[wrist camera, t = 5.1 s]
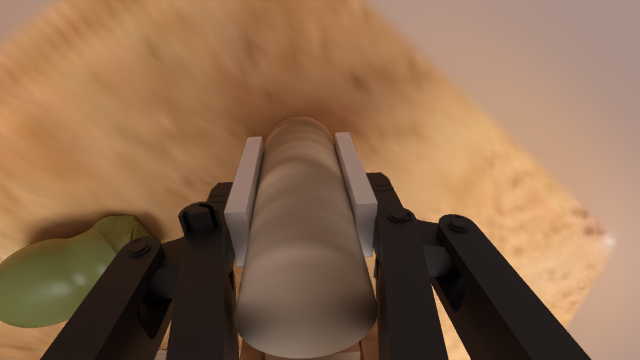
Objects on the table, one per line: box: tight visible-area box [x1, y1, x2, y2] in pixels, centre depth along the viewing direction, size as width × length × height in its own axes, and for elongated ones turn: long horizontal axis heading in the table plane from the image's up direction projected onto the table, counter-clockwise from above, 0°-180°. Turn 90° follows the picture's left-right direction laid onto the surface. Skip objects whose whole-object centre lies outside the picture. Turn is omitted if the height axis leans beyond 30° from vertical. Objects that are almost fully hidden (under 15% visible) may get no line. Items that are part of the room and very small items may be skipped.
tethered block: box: [235, 116, 378, 360], centre depth 17 cm, size 6×20×11 cm, turn 1°
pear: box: [0, 215, 150, 328], centre depth 20 cm, size 6×5×10 cm
